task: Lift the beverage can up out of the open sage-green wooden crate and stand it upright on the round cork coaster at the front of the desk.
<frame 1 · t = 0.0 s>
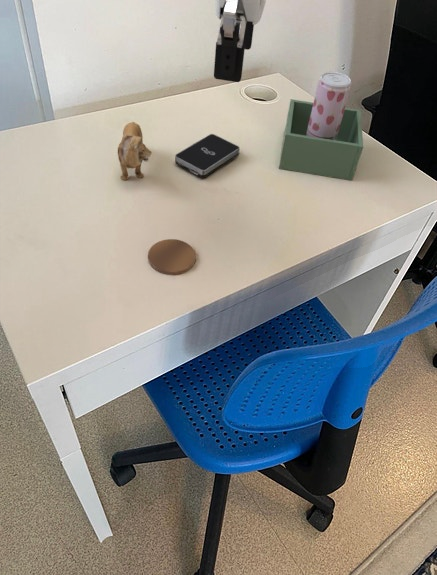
hand: (233, 62, 61), 25 cm above the table, tool pointing down, fingers open, 9 cm apart
crate: (316, 155, 96), on the table
beverage can: (316, 155, 96), resting in crate
coaster: (171, 257, 73), on the table
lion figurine: (135, 169, 88), on the table
external hard drive: (207, 161, 91), on the table
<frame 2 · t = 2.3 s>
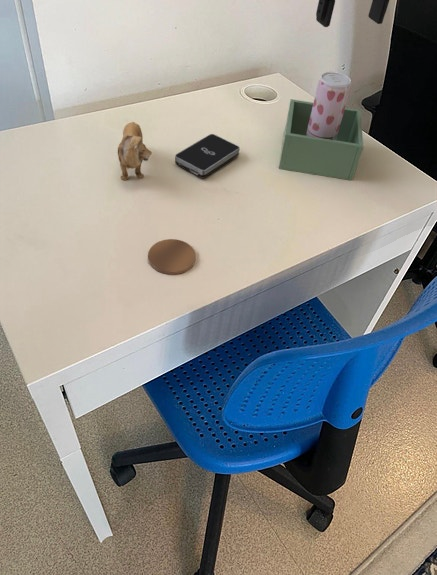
hand: (349, 22, 78), 24 cm above the table, tool pointing down, fingers open, 9 cm apart
nothing on the table moved.
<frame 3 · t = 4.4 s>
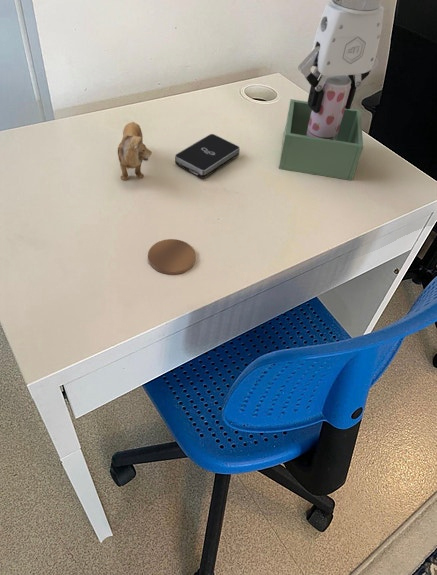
hand: (328, 106, 88), 10 cm above the table, tool pointing down, fingers closed on beverage can, 5 cm apart
beverage can: (316, 155, 96), resting in crate, touching gripper
everything else where it was.
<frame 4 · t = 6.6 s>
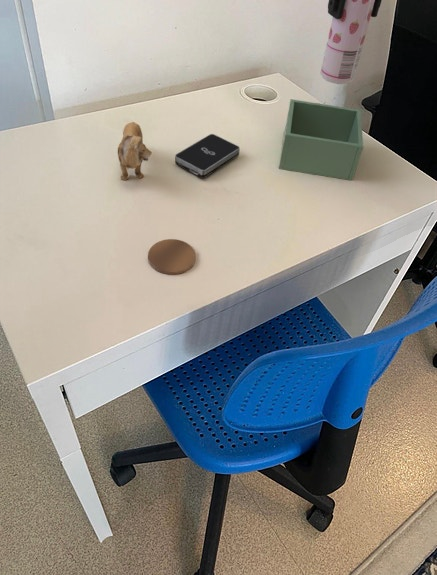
hand: (352, 13, 76), 26 cm above the table, tool pointing down, fingers closed on beverage can, 5 cm apart
beverage can: (336, 78, 84), point 15 cm above the table, touching gripper
everything else where it was.
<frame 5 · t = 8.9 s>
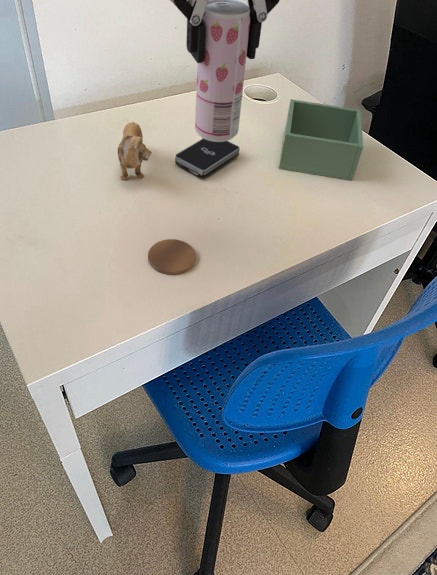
hand: (222, 54, 58), 27 cm above the table, tool pointing down, fingers closed on beverage can, 5 cm apart
beverage can: (216, 133, 65), point 17 cm above the table, touching gripper
everything else where it was.
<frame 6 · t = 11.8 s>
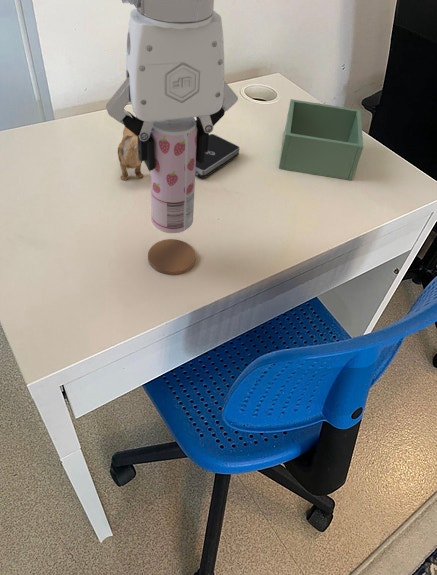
hand: (173, 159, 61), 17 cm above the table, tool pointing down, fingers closed on beverage can, 5 cm apart
beverage can: (172, 222, 68), point 7 cm above the table, touching gripper
everything else where it was.
when the fingers open (11 cm above the table, at t = 13.8 s): beverage can stays where it is, resting on coaster.
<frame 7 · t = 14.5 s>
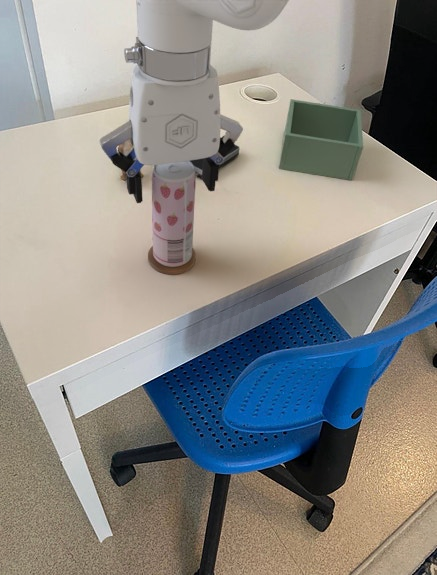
hand: (173, 190, 64), 12 cm above the table, tool pointing down, fingers open, 9 cm apart
beverage can: (172, 255, 73), resting on coaster
everything else where it was.
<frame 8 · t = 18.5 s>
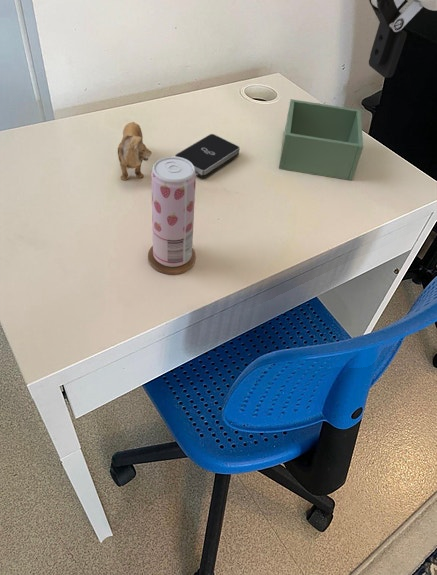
hand: (422, 67, 47), 32 cm above the table, tool pointing down, fingers open, 9 cm apart
nothing on the table moved.
at the end: beverage can 0.1 cm off-centre on the coaster, point 0.4 cm above the coaster's base; beverage can tilted 0°; beverage can touching coaster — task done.
